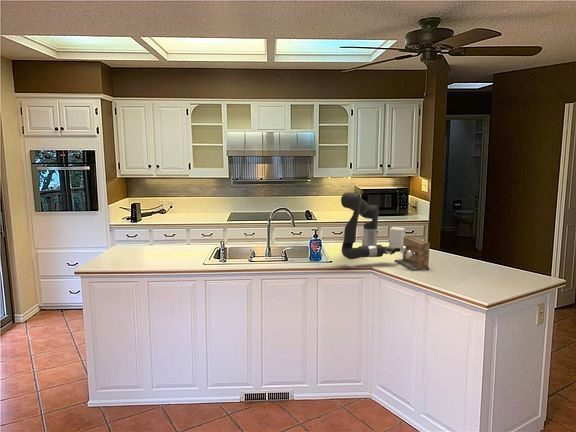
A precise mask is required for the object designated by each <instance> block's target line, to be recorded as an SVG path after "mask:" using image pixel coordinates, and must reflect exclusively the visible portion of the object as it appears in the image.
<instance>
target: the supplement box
mask: <svg viewBox="0 0 576 432" xmlns="http://www.w3.org/2000/svg"><path fill="white" fill-rule="evenodd" d="M388 236H389V237H388V239H389V240H388V241H389V242H388V247H391V248H392V247H393V248H400V247H401V246H403V242H404V237H406V228H405V227H398V226H392V227H390V228H389V235H388Z"/></svg>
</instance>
